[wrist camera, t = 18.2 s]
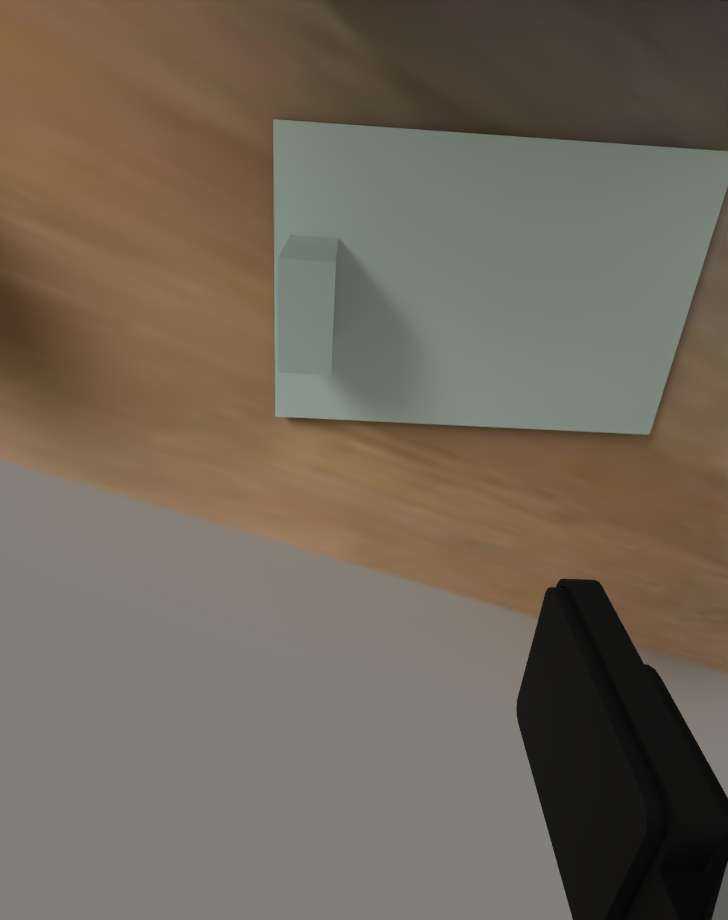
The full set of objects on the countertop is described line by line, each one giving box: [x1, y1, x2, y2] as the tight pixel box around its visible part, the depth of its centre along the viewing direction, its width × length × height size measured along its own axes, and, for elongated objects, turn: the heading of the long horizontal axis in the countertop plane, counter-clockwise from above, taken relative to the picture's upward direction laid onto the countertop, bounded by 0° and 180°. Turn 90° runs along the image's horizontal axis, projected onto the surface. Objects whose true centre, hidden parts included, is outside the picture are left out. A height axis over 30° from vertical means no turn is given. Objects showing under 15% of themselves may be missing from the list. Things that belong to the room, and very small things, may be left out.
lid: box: [273, 119, 728, 435], centre depth 31 cm, size 15×22×8 cm
